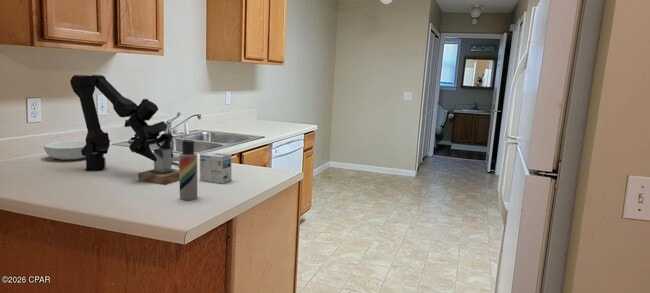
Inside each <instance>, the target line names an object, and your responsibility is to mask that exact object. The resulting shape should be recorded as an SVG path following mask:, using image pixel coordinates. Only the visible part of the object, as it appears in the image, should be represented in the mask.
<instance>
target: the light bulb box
mask: <svg viewBox="0 0 650 293" xmlns="http://www.w3.org/2000/svg"><path fill="white" fill-rule="evenodd" d="M199 181H200V182H201V181H202V182H209V183H216V184H224V183H227V182H231V181H232V154H230V153H229V154H228V153H221V152H211V151H208V152H204V153H200V154H199Z"/></svg>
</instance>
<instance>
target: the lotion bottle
mask: <svg viewBox="0 0 650 293" xmlns="http://www.w3.org/2000/svg"><path fill="white" fill-rule="evenodd" d="M181 148H182V153H180V155H179V161H178V163H179V164H178V165H179V169H178V170H179V172H180V180H179V199H180V200H183V201H193V200H196V199H197V198H198V154H197V153H196V152H195V141H194V140H192V139H183V140H182V141H181Z"/></svg>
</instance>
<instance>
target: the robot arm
mask: <svg viewBox="0 0 650 293" xmlns="http://www.w3.org/2000/svg"><path fill="white" fill-rule="evenodd" d="M70 87H71V88H72V92H74V93H75V95H76V96H77V98H79V103H80V105H81V110H82V114H83V118H84V121H85V122H84V123H85V125H86V129H87V134H86V135H85V141H86V145H85V146H84V148H83V149H82V150H81V153H82V156H86V157H85V165H86V168H85V171H103V170H104V169H105V168H106V167H107V166H106V164H107V162H106V157H105V155H106V154H108V151H109V147H110V145H111V144H110V143H111V140H110V138H109V133H108V132H104V131H103V130H102V127H101V124H100V120H99V116H98V111H97V108H96V104H95V99H94V93H95V91H96V89H97V90H98V91H99V92H100V93H101V94H102V95H103V96H104V97H105V98H106V99H107V100H108V101H109V102H110V103H111V105H112V107H113V110H114V112H115V113H116V114H117V115H118V117H120V118H128V119H125V120H124V121H125V122H124V128H129V127H130V128H131V129H132V130H133V132H134V133H135V134H134V137H135V139H134V140H132V142H131V143H130V144H129V150H130V152H131V153H135V154H138V155H140V156H143V157H145V158H147V159H148V160H151V161H153V162H154V161H155V162H156V161H157V159H156V157H155V155H154V151H153V150H152V149H151V148H150V146H152V145H156V146H158V148H166V149H171V158H172V157H173V154H174V153H173V151H172V148H171V142H172V141H173V139H174V136H173V135H172V133H171V132H167V133H162V132H165V131H167V128H168V125H167V123H166V122H165V121H164V120H163V121H160V122H156V123H153V124H148V122H147V121H150V120H151V119H152V118H153V116H155V114H156V113H157V112H158V111H159V107H158V105H157V104H156V103H154V102H152V101H150V100H149V99H148V98H143V99H141V101H140V103H139V104H138V105H137V103H135V102H134V101H133V100H131V99H130V98H127V97H124V96H123V95H122V94H121V92H119V91H118V90H117V89H116V88H115V87H114V86H113V85H112V84H111V83H110V82H109V81H108V80H107V79H106V77H105V76H104V75H102V74H91V75H87V74H83V75H82V74H74V75H73V76H72V77H71V79H70ZM161 133H162V134H161Z"/></svg>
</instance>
